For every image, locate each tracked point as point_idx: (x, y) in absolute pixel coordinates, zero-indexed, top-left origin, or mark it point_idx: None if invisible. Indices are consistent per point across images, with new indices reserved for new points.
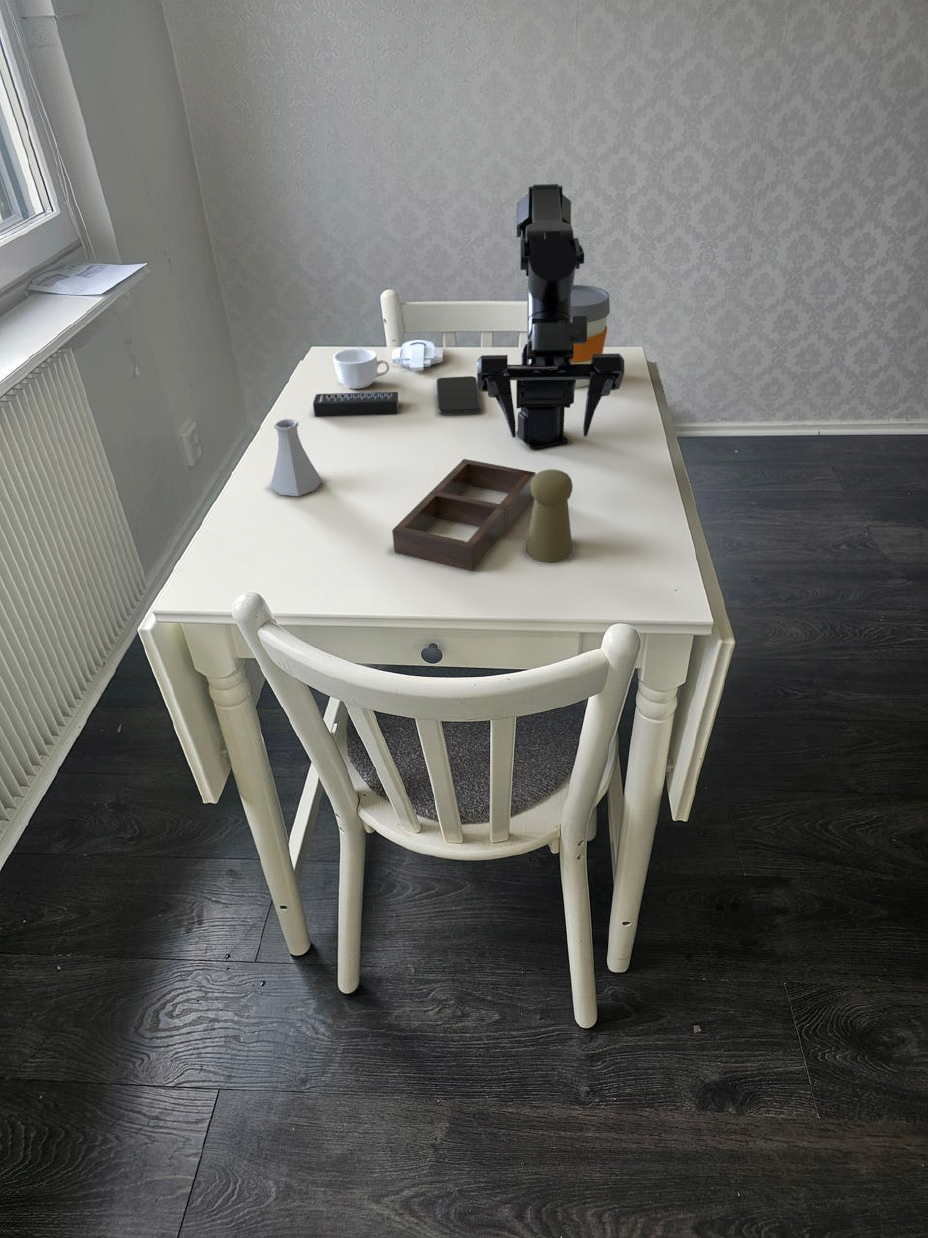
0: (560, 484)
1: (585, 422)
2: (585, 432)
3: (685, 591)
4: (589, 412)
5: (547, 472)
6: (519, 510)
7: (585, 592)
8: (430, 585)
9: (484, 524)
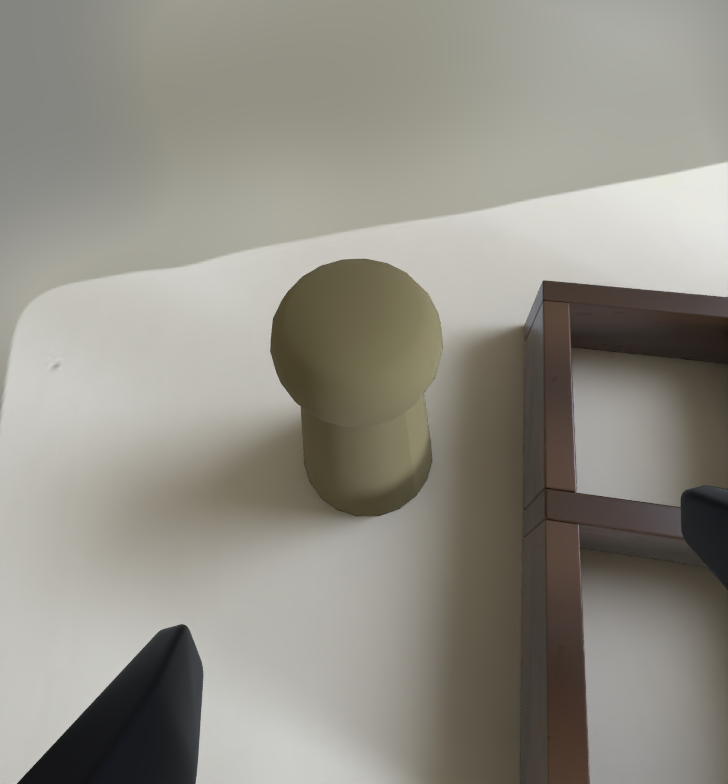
0: (308, 275)
1: (147, 679)
2: (174, 629)
3: (34, 367)
4: (61, 769)
5: (376, 318)
6: (524, 646)
7: (256, 315)
8: (589, 263)
9: (565, 388)
